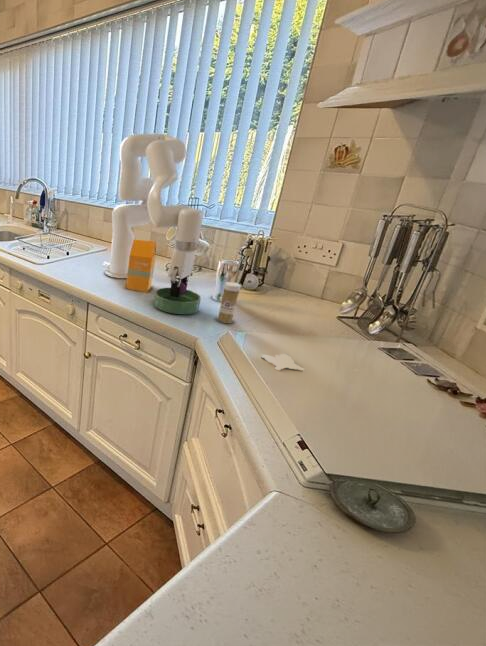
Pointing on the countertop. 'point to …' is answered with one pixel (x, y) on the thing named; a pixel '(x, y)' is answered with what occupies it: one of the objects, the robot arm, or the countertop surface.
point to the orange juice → (141, 265)
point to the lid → (373, 506)
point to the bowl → (176, 301)
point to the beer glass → (225, 276)
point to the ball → (182, 288)
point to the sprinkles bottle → (228, 302)
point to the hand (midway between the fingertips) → (177, 293)
